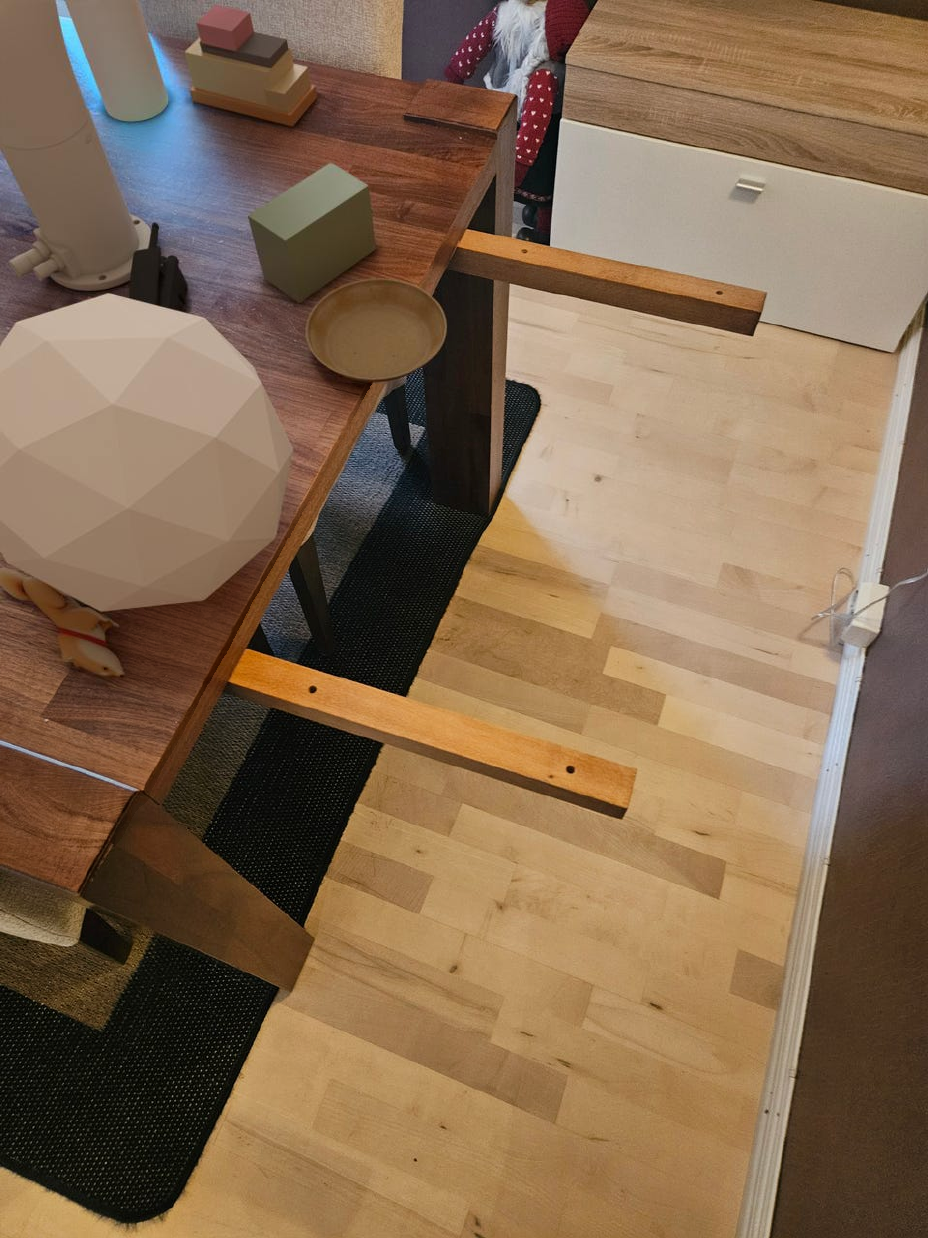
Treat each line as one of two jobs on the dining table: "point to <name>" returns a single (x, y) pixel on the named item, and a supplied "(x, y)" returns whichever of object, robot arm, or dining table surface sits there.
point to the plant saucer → (376, 329)
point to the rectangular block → (314, 231)
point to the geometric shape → (134, 454)
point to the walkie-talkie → (157, 277)
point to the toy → (68, 623)
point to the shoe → (251, 86)
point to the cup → (120, 57)
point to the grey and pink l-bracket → (238, 38)
